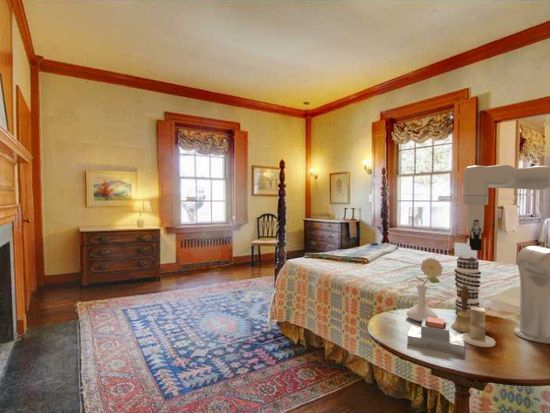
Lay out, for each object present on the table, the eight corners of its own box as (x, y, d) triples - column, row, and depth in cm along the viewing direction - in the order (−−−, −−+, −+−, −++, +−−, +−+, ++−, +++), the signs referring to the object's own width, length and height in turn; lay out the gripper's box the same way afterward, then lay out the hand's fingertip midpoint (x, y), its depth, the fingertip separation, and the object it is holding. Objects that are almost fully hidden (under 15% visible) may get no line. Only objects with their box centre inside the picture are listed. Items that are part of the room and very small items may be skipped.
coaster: (486, 335, 114) (486, 333, 114) (501, 348, 104) (501, 345, 104) (455, 333, 116) (455, 331, 116) (468, 346, 106) (468, 343, 106)
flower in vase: (404, 321, 127) (405, 258, 127) (407, 313, 138) (408, 254, 137) (442, 327, 121) (442, 260, 121) (442, 318, 131) (443, 256, 131)
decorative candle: (474, 324, 125) (475, 259, 125) (449, 317, 133) (450, 256, 132) (484, 319, 131) (485, 257, 130) (460, 312, 138) (461, 254, 138)
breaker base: (462, 343, 108) (463, 323, 108) (463, 355, 99) (464, 334, 99) (410, 333, 115) (411, 315, 115) (407, 344, 107) (407, 324, 107)
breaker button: (444, 332, 108) (444, 319, 108) (443, 337, 104) (443, 324, 104) (427, 329, 111) (427, 316, 110) (426, 334, 106) (426, 321, 106)
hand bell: (477, 327, 122) (477, 284, 122) (476, 334, 115) (477, 289, 115) (451, 323, 126) (452, 282, 126) (450, 329, 119) (450, 286, 119)
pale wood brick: (484, 337, 111) (484, 308, 111) (485, 341, 107) (485, 311, 107) (470, 335, 113) (470, 306, 112) (470, 339, 109) (471, 309, 109)
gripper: (462, 201, 125) (462, 245, 126) (464, 200, 110) (463, 250, 110) (486, 201, 122) (485, 246, 122) (490, 200, 107) (490, 252, 107)
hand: (475, 248), depth 116 cm, fingers open, 9 cm apart
